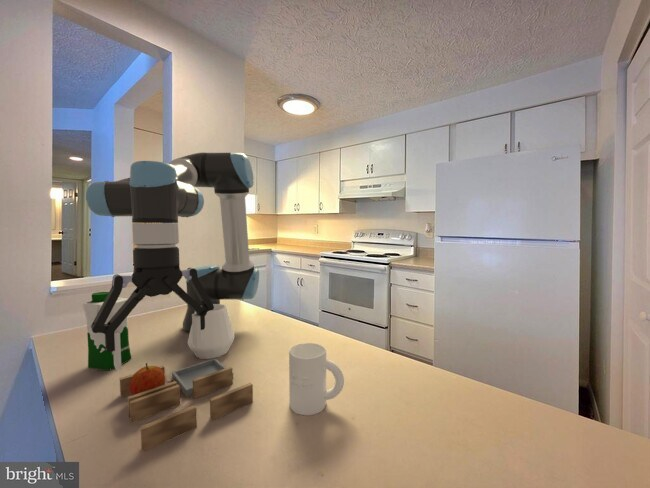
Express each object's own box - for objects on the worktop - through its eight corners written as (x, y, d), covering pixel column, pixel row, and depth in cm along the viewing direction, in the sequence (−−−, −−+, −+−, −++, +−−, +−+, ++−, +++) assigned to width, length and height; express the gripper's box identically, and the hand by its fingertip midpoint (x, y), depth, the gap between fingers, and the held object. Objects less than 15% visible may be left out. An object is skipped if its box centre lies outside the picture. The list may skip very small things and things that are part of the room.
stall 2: (178, 402, 64) (178, 384, 64) (196, 427, 56) (196, 407, 56) (130, 420, 58) (129, 401, 58) (142, 452, 50) (141, 429, 50)
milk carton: (111, 355, 87) (108, 289, 86) (137, 358, 85) (134, 290, 84) (81, 369, 79) (77, 296, 77) (109, 372, 77) (105, 298, 76)
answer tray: (215, 363, 82) (215, 358, 82) (233, 379, 74) (233, 373, 73) (172, 378, 74) (171, 372, 74) (186, 396, 66) (186, 390, 66)
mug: (340, 422, 58) (340, 363, 57) (283, 413, 60) (283, 356, 60) (346, 398, 66) (347, 346, 65) (296, 391, 68) (296, 341, 68)
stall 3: (230, 382, 72) (230, 366, 72) (252, 401, 64) (252, 384, 64) (193, 396, 66) (192, 379, 66) (212, 420, 58) (211, 401, 58)
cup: (243, 346, 94) (242, 303, 93) (215, 365, 81) (213, 316, 80) (209, 341, 98) (208, 300, 97) (177, 358, 85) (176, 311, 85)
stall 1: (163, 380, 73) (163, 365, 73) (177, 400, 65) (176, 382, 64) (120, 395, 67) (119, 378, 66) (129, 418, 59) (128, 399, 58)
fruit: (170, 397, 66) (169, 363, 65) (135, 411, 61) (133, 374, 60) (160, 385, 71) (159, 353, 70) (126, 398, 66) (124, 363, 65)
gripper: (214, 242, 66) (216, 334, 67) (67, 248, 49) (74, 370, 50) (228, 244, 61) (230, 343, 62) (69, 251, 44) (76, 388, 45)
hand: (160, 355), depth 56 cm, fingers open, 13 cm apart
